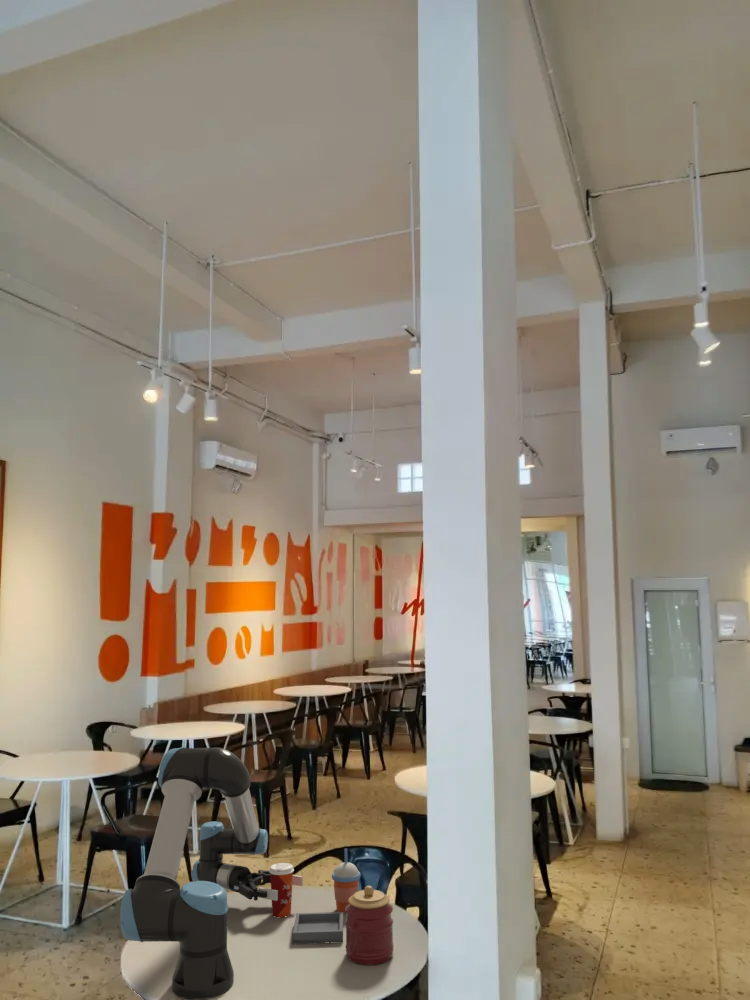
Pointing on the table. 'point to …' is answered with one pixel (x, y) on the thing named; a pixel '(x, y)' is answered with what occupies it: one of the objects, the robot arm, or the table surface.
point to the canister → (369, 927)
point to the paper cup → (282, 888)
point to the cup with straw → (345, 883)
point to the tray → (318, 927)
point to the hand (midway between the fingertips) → (289, 888)
